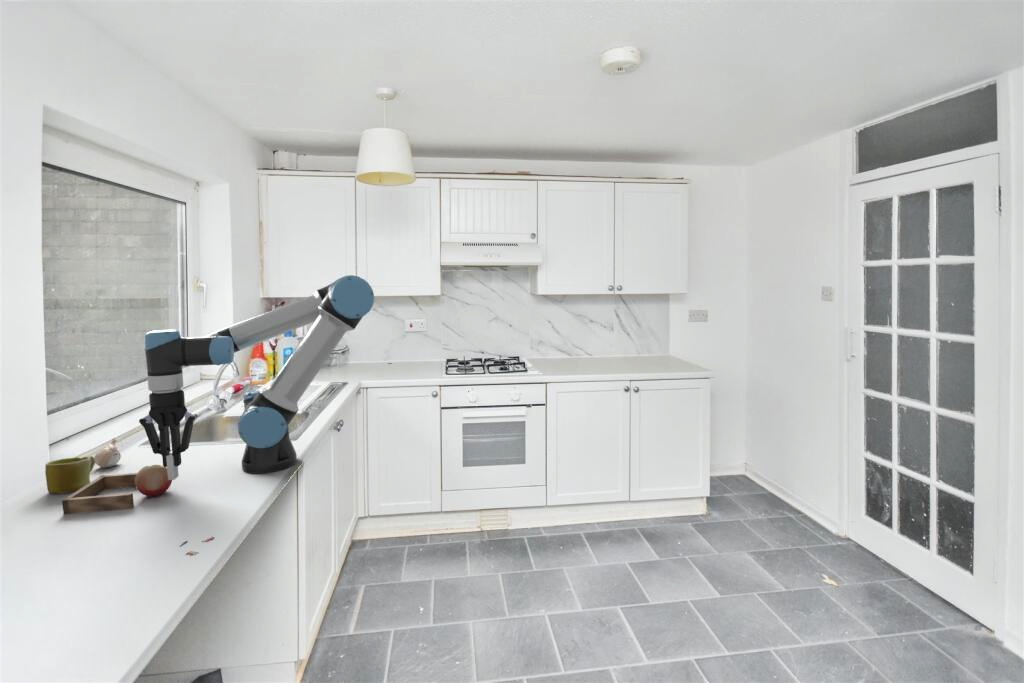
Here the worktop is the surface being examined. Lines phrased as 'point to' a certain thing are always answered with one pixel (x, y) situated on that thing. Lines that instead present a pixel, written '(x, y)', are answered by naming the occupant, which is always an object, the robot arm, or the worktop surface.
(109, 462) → the garlic bulb
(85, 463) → the mug
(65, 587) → the worktop surface
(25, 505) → the worktop surface
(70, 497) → the wooden frame
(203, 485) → the worktop surface
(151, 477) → the fruit
